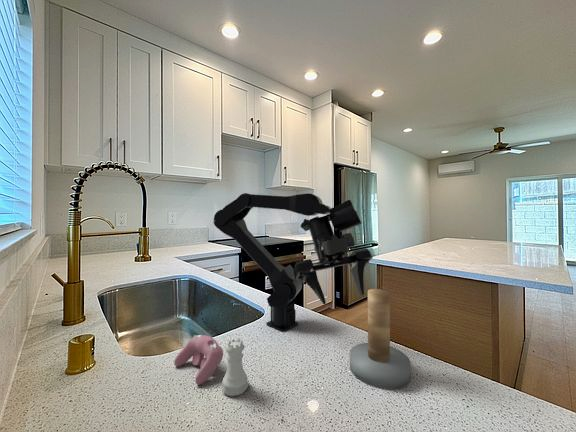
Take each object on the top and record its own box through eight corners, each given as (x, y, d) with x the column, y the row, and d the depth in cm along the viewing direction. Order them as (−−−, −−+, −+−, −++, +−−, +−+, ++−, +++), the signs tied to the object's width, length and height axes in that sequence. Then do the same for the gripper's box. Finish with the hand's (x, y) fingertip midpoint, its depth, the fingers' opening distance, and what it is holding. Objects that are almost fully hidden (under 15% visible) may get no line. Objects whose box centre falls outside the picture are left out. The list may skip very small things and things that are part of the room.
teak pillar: (364, 357, 49) (364, 292, 49) (373, 349, 51) (373, 287, 52) (385, 365, 46) (384, 296, 46) (393, 356, 49) (392, 291, 49)
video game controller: (216, 386, 46) (230, 346, 49) (195, 386, 43) (212, 343, 46) (190, 366, 53) (204, 331, 55) (170, 364, 50) (186, 327, 52)
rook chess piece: (216, 392, 42) (215, 344, 43) (233, 377, 46) (233, 334, 46) (236, 401, 40) (236, 351, 40) (253, 384, 44) (253, 339, 44)
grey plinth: (339, 370, 48) (339, 357, 48) (365, 348, 56) (365, 337, 56) (398, 398, 41) (398, 383, 41) (418, 368, 49) (418, 355, 49)
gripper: (290, 229, 56) (309, 300, 49) (367, 216, 59) (396, 280, 52) (287, 249, 66) (302, 311, 58) (353, 237, 69) (376, 294, 61)
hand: (343, 299), depth 57 cm, fingers open, 9 cm apart
